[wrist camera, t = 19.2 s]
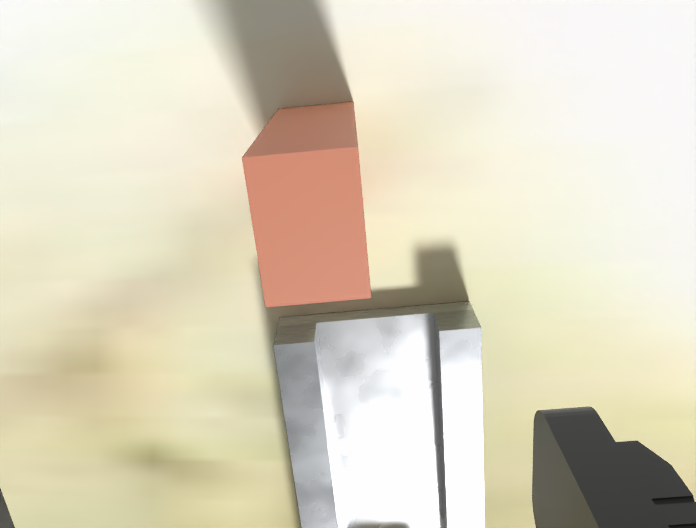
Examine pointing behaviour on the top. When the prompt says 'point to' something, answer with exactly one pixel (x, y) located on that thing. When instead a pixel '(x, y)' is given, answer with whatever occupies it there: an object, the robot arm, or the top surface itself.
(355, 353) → the slot bed
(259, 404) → the top surface
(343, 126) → the pink rectangular block
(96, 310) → the top surface
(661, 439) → the top surface
